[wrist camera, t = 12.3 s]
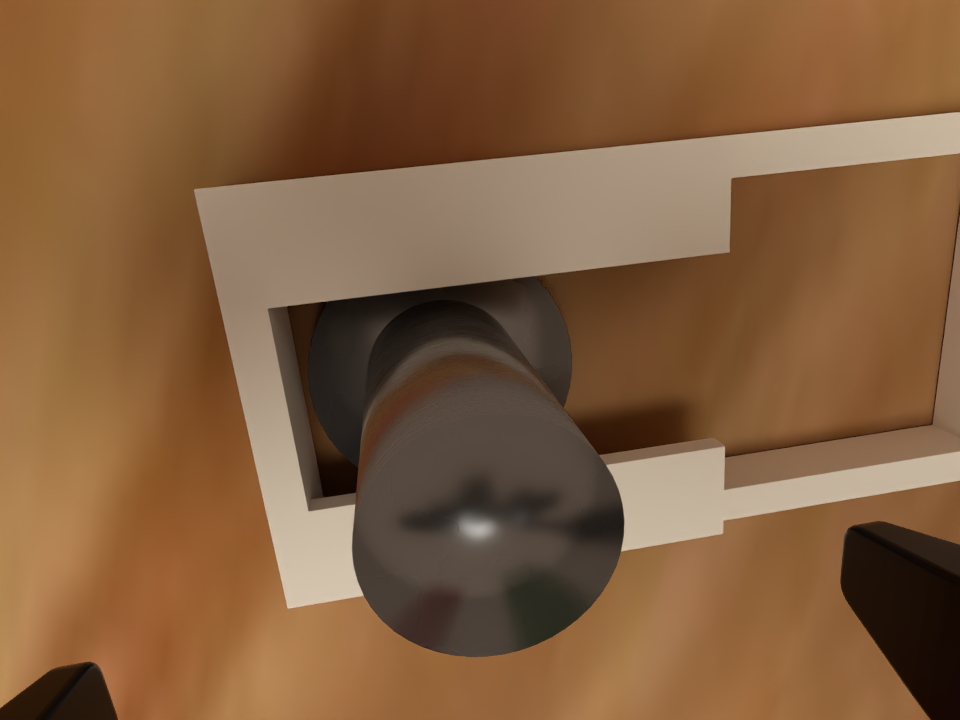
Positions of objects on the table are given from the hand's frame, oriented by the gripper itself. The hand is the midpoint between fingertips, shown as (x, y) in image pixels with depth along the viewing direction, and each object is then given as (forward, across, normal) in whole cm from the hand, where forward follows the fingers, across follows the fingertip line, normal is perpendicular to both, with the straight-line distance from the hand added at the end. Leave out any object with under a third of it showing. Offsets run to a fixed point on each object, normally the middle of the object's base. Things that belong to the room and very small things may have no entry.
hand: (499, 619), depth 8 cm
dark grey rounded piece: (+11, 0, 0) cm, 11 cm away
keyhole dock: (+11, -6, 0) cm, 12 cm away
